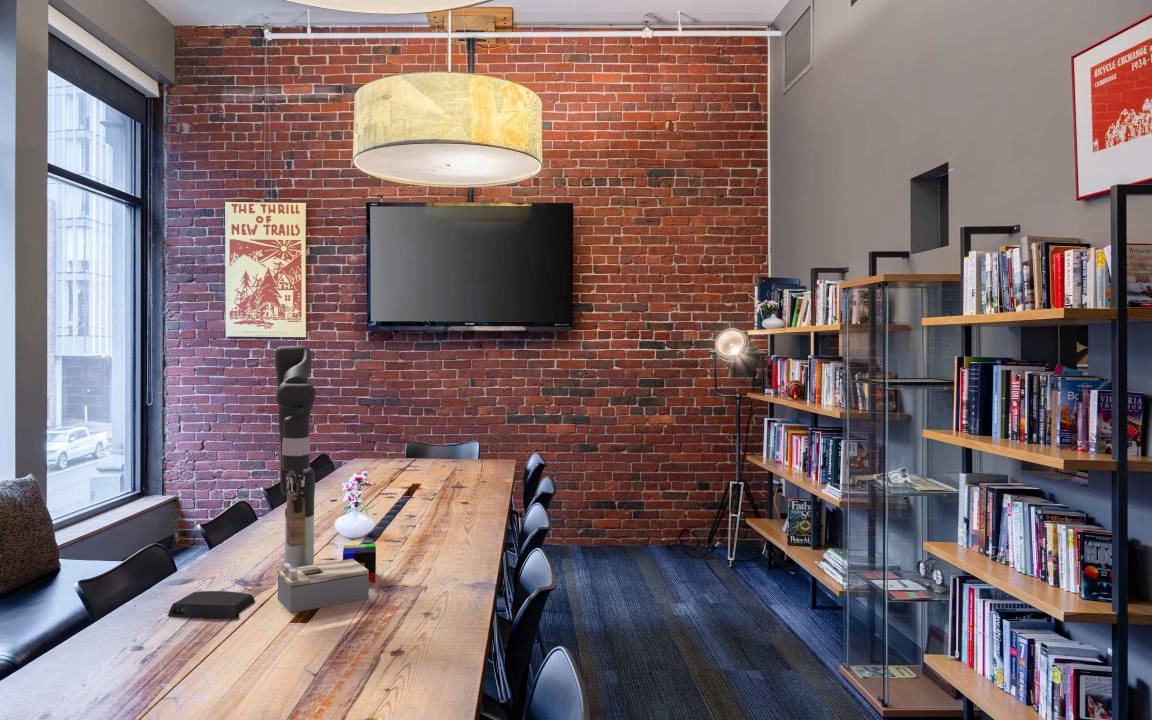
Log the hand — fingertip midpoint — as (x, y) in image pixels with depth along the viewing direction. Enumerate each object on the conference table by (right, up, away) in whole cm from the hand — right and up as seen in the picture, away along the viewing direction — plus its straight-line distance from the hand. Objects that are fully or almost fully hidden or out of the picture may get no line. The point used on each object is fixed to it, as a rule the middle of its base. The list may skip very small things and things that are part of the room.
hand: (295, 510), depth 217 cm
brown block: (0, -10, 0) cm, 10 cm away
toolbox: (+8, -27, +1) cm, 28 cm away
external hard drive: (-21, -27, -7) cm, 35 cm away
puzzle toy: (+12, -27, +22) cm, 37 cm away
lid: (+8, -18, +1) cm, 20 cm away
